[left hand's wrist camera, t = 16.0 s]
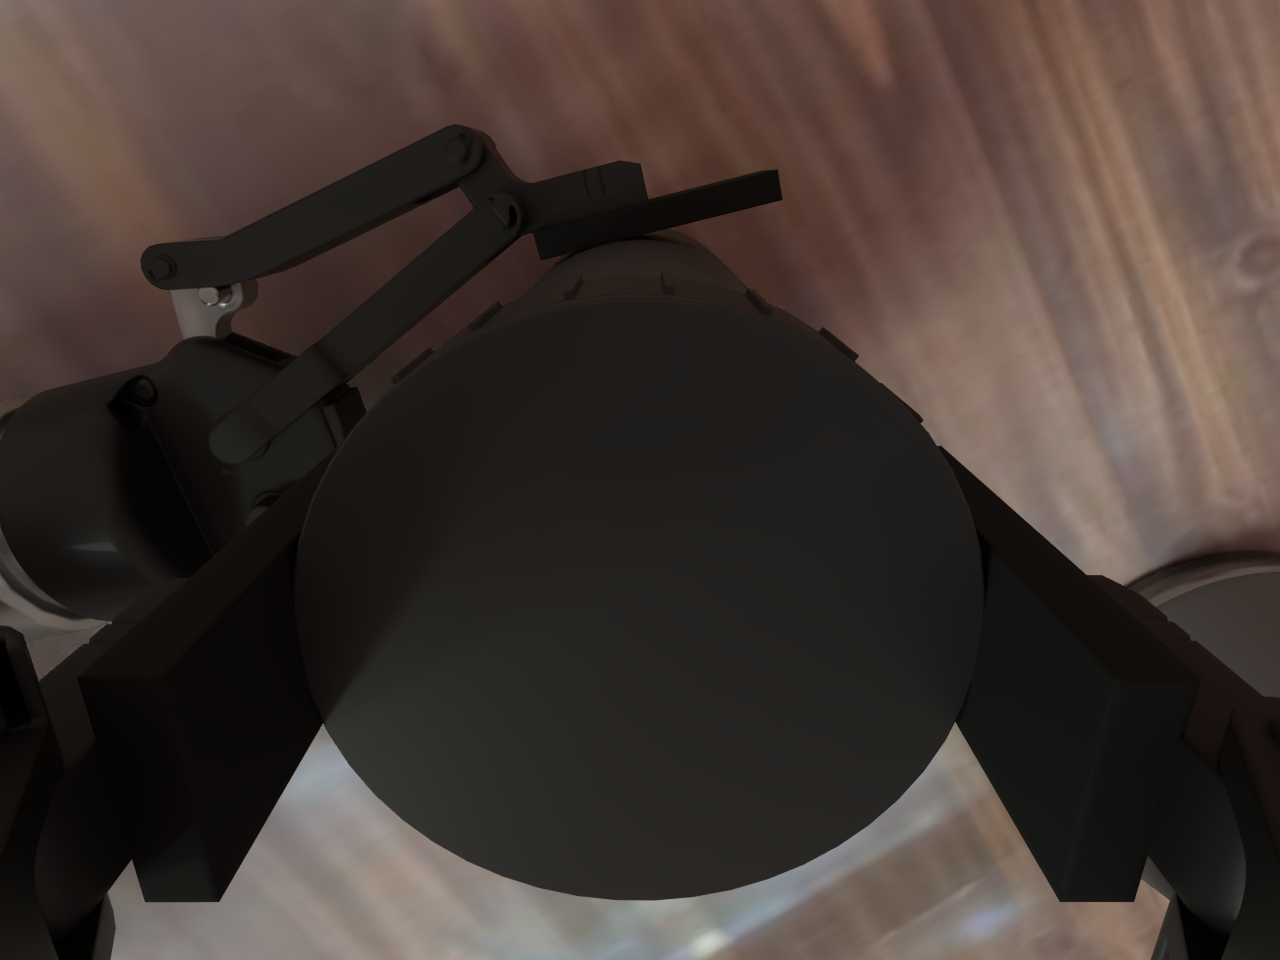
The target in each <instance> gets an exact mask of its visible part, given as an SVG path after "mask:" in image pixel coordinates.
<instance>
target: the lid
mask: <svg viewBox="0 0 1280 960" xmlns="http://www.w3.org/2000/svg"><path fill="white" fill-rule="evenodd" d="M858 357H859V355H858V354H856V353H855V352H854V351H853V350H851V349H850V348H849V347H848V346H847V345H845V344H844V343H843V342H842V341H840V340H839V339H838V338H837V337H835V336H834V335H833V334H832V333H830V332H829V331H828V330H826V329H825V328H824V327H823V328H822V329H821V330H820V331H819V332H818V331H817V330H815V329H814V328H812V327H810V326H809V325H807V324H806V323H804V322H802V321H801V320H799V319H798V318H796V317H794V316H793V315H791V314H790V313H788V312H786V311H784V310H782V309H780V308H777V307H775V306H773V305H771V304H768V303H767V302H766V301H765V300H764V299H763V298H762V297H761V296H760V295H759V294H758V293H757V292H755V291H754V290H752V289H749V288H747V291H746V293H741V292H738V291H735V290H731V289H728V288H724V287H721V286H717V285H714V284H711V283H707V282H700V281H693V280H687V279H680V278H673V277H671V274H670V271H666V270H662V272H661V276H615V277H607V278H598V279H590V280H583V279H582V275H576V276H574V277H573V278H572V280H571V281H570V283H569V284H565V285H561V286H557V287H554V288H550V289H546V290H542V291H538V292H536V293H533V294H531V295H529V296H526V297H524V298H521V299H519V300H516V301H514V302H512V303H509V304H507V305H504V306H501V304H500V302H499V301H498V302H496V303H494V304H492V305H491V306H490V307H489V308H488V309H486V310H485V311H484V312H483V313H482V314H481V315H479V316H478V317H477V318H476V319H475V320H473V321H472V322H471V323H470V324H469V325H468V326H467V327H465V328H464V329H462V330H461V331H460V332H459V333H457V334H456V335H455V336H454V337H452V338H451V339H450V340H449V341H447V342H446V343H445V344H444V345H442V346H441V347H440V348H438V349H437V350H436V351H435V352H434V351H433V350H432V349H431V348H428V349H427V350H426V351H425V352H423V353H422V354H421V355H420V356H418V357H417V358H416V359H415V360H413V361H412V362H411V363H410V364H408V365H407V366H406V367H405V368H403V369H402V370H401V371H400V372H398V373H397V374H396V375H395V376H394V377H393V378H391V381H392V382H393V383H394V384H395V385H394V386H393V387H392V388H391V389H389V390H388V391H387V392H386V393H385V394H384V395H383V396H382V397H381V398H380V399H379V400H378V402H377V403H376V404H375V405H374V406H373V407H372V408H371V409H370V410H369V411H368V412H367V413H366V414H365V415H364V417H363V418H362V419H361V420H360V421H359V422H358V423H357V424H356V425H355V426H354V428H353V429H352V431H351V432H350V434H349V435H348V436H347V437H346V438H345V439H344V440H343V441H341V442H340V443H339V444H338V446H337V448H336V451H337V452H336V454H335V455H334V457H333V458H332V460H331V461H330V463H329V465H328V467H327V469H326V471H325V473H324V475H323V477H322V479H321V481H320V483H319V485H318V487H317V490H316V492H315V494H314V496H313V498H312V500H311V502H310V506H309V509H308V512H307V515H306V519H305V522H304V525H303V529H302V532H301V535H300V538H299V542H298V549H297V556H296V563H295V570H294V577H293V604H294V611H295V618H296V623H297V629H298V634H299V640H300V645H301V651H302V656H303V662H304V667H305V673H306V678H307V683H308V688H309V692H310V695H311V698H312V700H313V702H314V705H315V707H316V709H317V711H318V713H319V715H320V717H321V719H322V721H323V723H324V725H325V727H326V729H327V731H328V733H329V735H330V736H331V738H332V739H333V741H334V743H335V744H336V746H337V747H338V749H339V750H340V752H341V753H342V755H343V756H344V758H345V759H346V761H347V762H348V764H349V765H350V766H351V768H352V769H353V770H354V771H355V772H356V773H357V774H358V776H359V777H360V778H361V779H362V780H363V781H364V783H365V784H366V785H367V786H368V787H369V788H370V790H371V791H372V792H373V793H374V794H375V795H376V796H377V797H378V798H379V799H380V800H381V801H383V802H384V803H385V804H386V805H387V806H388V807H389V808H390V809H391V810H392V811H393V812H395V813H396V814H397V815H398V816H399V817H400V818H401V819H402V820H404V821H405V822H406V823H408V824H409V825H411V826H412V827H413V828H415V829H416V830H417V831H419V832H420V833H422V834H423V835H424V836H426V837H427V838H429V839H430V840H431V841H433V842H434V843H436V844H438V845H440V846H441V847H443V848H445V849H447V850H448V851H450V852H452V853H454V854H455V855H457V856H459V857H461V858H463V859H464V860H466V861H468V862H470V863H473V864H475V865H477V866H480V867H482V868H484V869H487V870H489V871H491V872H494V873H496V874H498V875H501V876H503V877H506V878H509V879H512V880H516V881H519V882H522V883H525V884H528V885H531V886H535V887H538V888H542V889H547V890H551V891H556V892H561V893H566V894H571V895H575V896H583V897H592V898H602V899H611V900H665V899H676V898H687V897H696V896H701V895H706V894H712V893H717V892H722V891H728V890H732V889H736V888H739V887H743V886H746V885H749V884H753V883H756V882H760V881H763V880H766V879H769V878H772V877H774V876H777V875H779V874H782V873H784V872H787V871H789V870H791V869H794V868H796V867H799V866H801V865H804V864H806V863H807V862H809V861H811V860H813V859H815V858H817V857H819V856H821V855H822V854H824V853H826V852H828V851H830V850H832V849H834V848H835V847H837V846H839V845H840V844H842V843H843V842H845V841H846V840H848V839H849V838H851V837H852V836H853V835H855V834H856V833H858V832H859V831H861V830H862V829H864V828H865V827H867V826H868V825H869V824H871V823H872V822H873V821H874V820H875V819H876V818H877V817H879V816H880V815H881V814H882V813H883V812H884V811H886V810H887V809H888V808H889V807H890V806H891V805H892V804H894V803H895V802H896V801H897V800H898V799H899V798H900V797H901V796H902V795H903V794H904V793H905V791H906V790H907V789H908V788H909V787H910V786H911V785H912V784H913V783H914V781H915V780H916V779H917V778H918V777H919V776H920V775H921V774H922V773H923V772H924V770H925V769H926V767H927V766H928V764H929V763H930V762H931V760H932V759H933V757H934V756H935V754H936V753H937V752H938V750H939V749H940V747H941V746H942V744H943V743H944V742H945V740H946V738H947V736H948V734H949V732H950V731H951V729H952V727H953V725H954V723H955V721H956V719H957V717H958V715H959V713H960V711H961V709H962V707H963V705H964V702H965V699H966V697H967V694H968V691H969V688H970V685H971V682H972V677H973V672H974V667H975V662H976V656H977V651H978V645H979V640H980V634H981V628H982V622H983V616H984V609H985V582H984V573H983V564H982V554H981V548H980V544H979V541H978V537H977V533H976V530H975V526H974V522H973V518H972V515H971V511H970V508H969V506H968V504H967V502H966V499H965V497H964V495H963V493H962V490H961V488H960V486H959V484H958V481H957V479H956V477H955V475H954V472H953V470H952V469H951V467H950V466H949V464H948V462H947V461H946V459H945V458H944V456H943V455H942V453H941V452H940V450H939V448H938V447H937V445H936V444H935V442H934V441H933V439H932V438H931V436H930V434H929V433H928V432H927V431H926V430H925V428H924V427H923V426H922V425H921V424H920V423H921V422H923V419H922V418H921V416H920V415H919V414H918V413H917V412H915V411H914V410H913V409H912V408H911V407H909V406H908V405H907V404H906V403H905V402H904V401H902V400H901V399H900V398H899V397H898V396H896V395H895V394H894V393H893V392H892V391H890V390H889V389H888V388H887V387H886V386H885V385H883V384H882V383H879V382H878V381H877V380H876V379H875V378H873V377H872V376H871V375H870V374H869V373H868V372H866V371H865V370H864V369H863V368H862V367H860V366H859V365H858V364H857V363H856V362H855V360H856V359H857V358H858Z"/></svg>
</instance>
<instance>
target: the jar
mask: <svg viewBox="0 0 1280 960" xmlns="http://www.w3.org/2000/svg"><path fill="white" fill-rule="evenodd" d="M662 270H666V271H670V274H671V277H673V278H680V279H687V280H693V281H700V282H707V283H711V284H714V285H717V286H721V287H724V288H728V289H731V290H735V291H738V292H741V293H746V291H747V287H746V286H745V285H744V284H743V283H742V282H741V281H740V280H739V279H738V278H737V277H736V276H735V275H734V274H733V273H732V272H731V271H730V270H729V269H728V268H727V267H726V266H725V265H724V264H723V263H722V262H721V261H720V260H719V258H718V257H716V256H715V255H714V254H713V253H712V252H711V251H710V250H708V249H707V248H706V247H705V246H703V245H702V244H700V243H699V242H697V241H696V240H694V239H692V238H690V237H688V236H686V235H684V234H682V233H680V232H677V231H674V230H671V229H664V230H660V231H656V232H652V233H648V234H644V235H640V236H636V237H632V238H628V239H624V240H620V241H616V242H612V243H608V244H604V245H600V246H596V247H592V248H588V249H584V250H580V251H576V252H572V253H568V254H565V255H564V256H563V257H562V258H561V259H560V260H559V261H558V262H557V263H556V264H555V265H554V266H553V267H552V268H551V269H550V270H549V271H548V272H547V273H546V274H545V275H544V276H543V277H542V278H541V279H540V280H539V281H538V282H537V283H536V284H535V285H534V286H533V287H532V288H531V289H530V290H529V291H528V292H527V293H526V294H525V295H524V296H523V297H522V298H524V297H526V296H529V295H531V294H533V293H536V292H538V291H542V290H546V289H550V288H554V287H557V286H561V285H565V284H569V283H570V281H571V280H572V278H573V277H574V276H576V275H582V279H583V280H590V279H598V278H607V277H615V276H661V272H662Z"/></svg>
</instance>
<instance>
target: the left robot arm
mask: <svg viewBox="0 0 1280 960" xmlns="http://www.w3.org/2000/svg"><path fill="white" fill-rule="evenodd" d="M937 447H938V448H939V450H940V452H941V453H942V455H943V456H944V458H945V459H946V461H947V462H948V464H949V466H950V467H951V469H952V470H953V472H954V475H955V477H956V479H957V481H958V484H959V486H960V488H961V490H962V493H963V495H964V497H965V499H966V502H967V504H968V506H969V508H970V511H971V515H972V518H973V522H974V526H975V530H976V533H977V537H978V541H979V544H980V548H981V554H982V564H983V573H984V582H985V609H984V616H983V622H982V628H981V634H980V640H979V645H978V651H977V656H976V662H975V667H974V672H973V677H972V682H971V685H970V688H969V691H968V694H967V697H966V699H965V702H964V705H963V707H962V709H961V711H960V713H959V715H958V717H957V719H956V721H955V722H956V724H957V725H958V727H959V729H960V731H961V732H962V734H963V736H964V737H965V739H966V741H967V743H968V744H969V746H970V748H971V749H972V751H973V753H974V755H975V756H976V758H977V760H978V762H979V763H980V765H981V767H982V768H983V770H984V772H985V774H986V775H987V777H988V779H989V780H990V782H991V784H992V786H993V787H994V789H995V791H996V793H997V794H998V796H999V798H1000V799H1001V801H1002V803H1003V805H1004V806H1005V808H1006V810H1007V811H1008V813H1009V815H1010V817H1011V818H1012V820H1013V822H1014V824H1015V825H1016V827H1017V829H1018V830H1019V832H1020V834H1021V836H1022V837H1023V839H1024V841H1025V842H1026V844H1027V846H1028V848H1029V849H1030V851H1031V853H1032V855H1033V856H1034V858H1035V860H1036V861H1037V863H1038V865H1039V867H1040V868H1041V870H1042V872H1043V873H1044V875H1045V877H1046V879H1047V880H1048V882H1049V884H1050V886H1051V887H1052V889H1053V891H1054V892H1055V894H1056V896H1057V898H1058V899H1059V901H1060V902H1134V900H1135V897H1136V893H1137V890H1138V887H1139V883H1140V880H1141V879H1142V880H1144V881H1145V882H1146V883H1148V884H1149V885H1150V886H1152V887H1153V888H1154V889H1156V890H1157V891H1158V892H1159V893H1161V894H1162V895H1163V896H1165V897H1166V898H1167V899H1169V900H1170V902H1169V906H1168V909H1167V912H1166V915H1165V918H1164V921H1163V924H1162V927H1161V930H1160V933H1159V936H1158V939H1157V942H1156V945H1155V948H1154V952H1153V955H1152V958H1151V960H1280V553H1273V552H1253V551H1248V552H1233V553H1225V554H1218V555H1211V556H1207V557H1203V558H1199V559H1194V560H1191V561H1187V562H1184V563H1181V564H1178V565H1175V566H1172V567H1170V568H1167V569H1165V570H1162V571H1160V572H1157V573H1155V574H1153V575H1151V576H1149V577H1147V578H1145V579H1143V580H1141V581H1139V582H1137V583H1135V584H1134V585H1132V586H1130V587H1128V588H1127V587H1125V586H1123V585H1121V584H1119V583H1117V582H1115V581H1113V580H1111V579H1109V578H1107V577H1105V576H1102V575H1086V574H1085V573H1084V572H1083V571H1081V570H1080V569H1079V568H1078V567H1077V566H1076V565H1075V564H1074V563H1072V562H1071V561H1070V560H1069V559H1068V558H1067V557H1066V556H1065V555H1063V554H1062V553H1061V552H1060V551H1059V550H1058V549H1057V548H1056V547H1054V546H1053V545H1052V544H1051V543H1050V542H1049V541H1048V540H1047V539H1045V538H1044V537H1043V536H1042V535H1041V534H1040V533H1039V532H1037V531H1036V530H1035V529H1034V528H1033V527H1032V526H1031V525H1030V524H1028V523H1027V522H1026V521H1025V520H1024V519H1023V518H1022V517H1021V516H1019V515H1018V514H1017V513H1016V512H1015V511H1014V510H1013V509H1012V508H1010V507H1009V506H1008V505H1007V504H1006V503H1005V502H1004V501H1003V500H1001V499H1000V498H999V497H998V496H997V495H996V494H995V493H994V492H992V491H991V490H990V489H989V488H988V487H987V486H986V485H985V484H983V483H982V482H981V481H980V480H979V479H978V478H977V477H975V476H974V475H973V474H972V473H971V472H970V471H969V470H968V469H966V468H965V467H964V466H963V465H962V464H961V463H960V462H959V461H957V460H956V459H955V458H954V457H953V456H952V455H951V454H950V453H948V452H947V451H946V450H945V449H944V448H943V447H942V446H937ZM336 448H337V447H336ZM336 448H335V449H334V450H333V451H332V452H331V453H330V454H328V455H327V456H326V457H325V458H324V459H323V460H322V461H321V462H319V463H318V464H317V465H316V466H315V467H314V468H313V469H312V470H310V471H309V472H308V473H307V474H306V475H305V476H304V477H302V478H301V479H300V480H299V481H298V482H297V483H296V484H295V485H293V486H292V487H291V488H290V489H289V490H288V491H287V492H286V493H284V494H283V495H282V496H281V497H280V498H279V499H278V500H277V501H275V502H274V503H273V504H272V505H271V506H270V507H269V508H268V509H266V510H265V511H264V512H263V513H262V514H261V515H260V516H259V517H257V518H256V519H255V520H254V521H253V522H252V523H251V524H249V525H248V526H247V527H246V528H245V529H244V530H243V531H242V532H240V533H239V534H238V535H237V536H236V537H235V538H234V539H233V540H231V541H230V542H229V543H228V544H227V545H226V546H225V547H224V548H222V549H221V550H220V551H219V552H218V553H217V554H216V555H215V556H213V557H212V558H211V559H210V560H209V561H208V562H207V563H205V564H204V565H203V566H202V567H201V568H200V569H199V570H198V571H196V572H195V573H194V574H193V575H192V576H191V577H190V578H177V579H175V580H173V581H171V582H169V583H167V584H165V585H163V586H161V587H159V588H157V589H155V590H153V591H151V592H149V593H147V594H145V595H143V596H141V597H139V598H138V599H137V600H135V601H134V602H133V603H132V604H131V605H129V606H128V607H127V608H126V609H125V610H123V611H122V612H121V613H120V614H119V615H117V616H116V617H115V618H114V619H113V620H112V624H107V625H106V626H104V627H103V628H102V629H101V630H100V631H98V632H97V633H96V634H95V635H94V636H92V637H91V638H90V642H89V644H83V645H82V646H80V647H79V648H78V649H77V650H76V651H74V652H73V653H72V654H71V655H70V656H68V657H67V658H66V659H65V660H64V661H63V662H61V663H60V664H59V665H58V666H57V667H55V668H54V669H53V670H52V671H51V672H49V673H48V674H47V675H46V676H45V677H43V678H42V679H41V680H40V681H39V682H38V678H37V675H36V672H35V669H34V666H33V663H32V660H31V657H30V654H29V651H28V648H27V645H26V642H25V639H24V635H23V634H22V633H21V632H19V631H17V630H15V629H14V628H12V627H10V626H2V625H0V960H110V959H111V953H112V947H113V941H114V935H115V929H116V927H115V920H114V913H113V909H112V906H111V902H110V899H109V896H108V893H107V892H108V890H109V889H110V888H111V886H112V885H113V884H114V882H115V881H116V880H117V878H118V877H119V876H120V874H121V873H122V872H123V870H124V869H125V868H126V866H127V865H128V864H129V862H130V861H131V859H132V861H133V864H134V867H135V870H136V874H137V877H138V880H139V884H140V887H141V890H142V893H143V897H144V900H145V902H219V901H220V900H221V898H222V896H223V894H224V893H225V891H226V889H227V887H228V886H229V884H230V882H231V881H232V879H233V877H234V875H235V874H236V872H237V870H238V869H239V867H240V865H241V863H242V862H243V860H244V858H245V856H246V855H247V853H248V851H249V850H250V848H251V846H252V844H253V843H254V841H255V839H256V838H257V836H258V834H259V832H260V831H261V829H262V827H263V825H264V824H265V822H266V820H267V819H268V817H269V815H270V813H271V812H272V810H273V808H274V807H275V805H276V803H277V801H278V800H279V798H280V796H281V794H282V793H283V791H284V789H285V788H286V786H287V784H288V782H289V781H290V779H291V777H292V776H293V774H294V772H295V770H296V769H297V767H298V765H299V764H300V762H301V760H302V758H303V757H304V755H305V753H306V751H307V750H308V748H309V746H310V745H311V743H312V741H313V739H314V738H315V736H316V734H317V733H318V731H319V729H320V727H321V726H322V724H323V721H322V719H321V717H320V715H319V713H318V711H317V709H316V707H315V705H314V702H313V700H312V698H311V695H310V692H309V688H308V683H307V678H306V673H305V667H304V662H303V656H302V651H301V645H300V640H299V634H298V629H297V623H296V618H295V611H294V604H293V577H294V570H295V563H296V556H297V549H298V542H299V538H300V535H301V532H302V529H303V525H304V522H305V519H306V515H307V512H308V509H309V506H310V502H311V500H312V498H313V496H314V494H315V492H316V490H317V487H318V485H319V483H320V481H321V479H322V477H323V475H324V473H325V471H326V469H327V467H328V465H329V463H330V461H331V460H332V458H333V457H334V455H335V454H336V452H337V451H336Z"/></svg>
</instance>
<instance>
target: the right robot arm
mask: <svg viewBox="0 0 1280 960" xmlns="http://www.w3.org/2000/svg"><path fill="white" fill-rule="evenodd" d="M458 187H460V188H461V189H462V191H463V192H464V194H465V195H466V197H467V198H468V200H469V201H470V202H471V204H472V205H473V207H474V209H473V210H471V211H470V212H469V213H468V214H467V215H466V216H465V217H463V218H462V219H461V220H460V221H459V222H458V223H456V224H455V225H454V226H453V227H452V228H451V229H449V230H448V231H447V232H446V233H445V234H444V235H442V236H441V237H440V238H439V239H438V240H437V241H435V242H434V243H433V244H432V245H431V246H430V247H428V248H427V249H426V250H425V251H424V252H423V253H421V254H420V255H419V256H418V257H417V258H416V259H414V260H413V261H412V262H411V263H410V264H409V265H407V266H406V267H405V268H404V269H403V270H402V271H400V272H399V273H398V274H397V275H396V276H395V277H393V278H392V279H391V280H390V281H389V282H388V283H386V284H385V285H384V286H383V287H382V288H381V289H379V290H378V291H377V292H376V293H375V294H374V295H372V296H371V297H370V298H369V299H368V300H367V301H365V302H364V303H363V304H362V305H361V306H360V307H358V308H357V309H356V310H355V311H354V312H353V313H351V314H350V315H349V316H348V317H347V318H346V319H344V320H343V321H342V322H341V323H340V324H339V325H337V326H336V327H335V328H334V329H333V330H332V331H330V332H329V333H328V334H327V335H326V336H325V337H323V338H322V339H321V340H320V341H318V342H317V343H315V344H314V345H313V346H311V347H310V348H308V349H307V350H306V351H304V352H303V353H302V354H301V355H300V356H298V357H297V356H294V355H291V354H289V353H286V352H284V351H281V350H278V349H276V348H273V347H271V346H268V345H265V344H263V343H260V342H258V341H255V340H252V339H250V338H247V337H245V336H242V335H239V334H237V333H234V332H232V331H231V321H232V318H233V316H234V314H235V313H236V312H237V311H239V310H241V309H243V308H246V307H248V306H250V305H252V304H253V303H254V302H255V300H256V298H257V294H258V282H257V280H256V278H260V277H264V276H267V275H271V274H275V273H279V272H282V271H285V270H287V269H290V268H292V267H295V266H297V265H299V264H301V263H303V262H305V261H308V260H310V259H312V258H314V257H316V256H318V255H320V254H322V253H324V252H326V251H328V250H330V249H332V248H334V247H336V246H338V245H341V244H343V243H345V242H347V241H349V240H351V239H353V238H355V237H357V236H359V235H361V234H363V233H365V232H367V231H369V230H372V229H374V228H376V227H378V226H380V225H382V224H384V223H386V222H388V221H390V220H392V219H394V218H396V217H398V216H400V215H402V214H405V213H407V212H409V211H411V210H413V209H415V208H417V207H419V206H421V205H423V204H425V203H427V202H429V201H431V200H433V199H435V198H438V197H440V196H442V195H444V194H446V193H448V192H450V191H452V190H454V189H456V188H458ZM780 200H782V193H781V187H780V181H779V175H778V170H765V171H759V172H755V173H751V174H747V175H743V176H739V177H735V178H731V179H727V180H723V181H720V182H716V183H712V184H708V185H704V186H700V187H696V188H692V189H688V190H684V191H680V192H676V193H672V194H668V195H664V196H660V197H657V198H653V199H649V200H648V196H647V192H646V187H645V183H644V178H643V174H642V169H641V165H640V164H638V163H632V162H625V161H617V162H613V163H609V164H605V165H601V166H598V167H594V168H590V169H586V170H582V171H578V172H574V173H570V174H567V175H563V176H559V177H555V178H551V179H547V180H543V181H540V182H536V183H528V182H525V181H523V180H521V179H519V178H518V177H517V176H515V175H514V174H513V172H512V171H511V170H510V169H509V167H508V166H507V164H506V163H505V161H504V160H503V158H502V157H501V155H500V154H499V152H498V151H497V149H496V145H495V143H494V142H493V140H492V139H491V137H490V136H488V135H487V134H485V133H484V132H482V131H479V130H476V129H472V128H469V127H466V126H461V125H456V124H455V125H451V126H447V127H445V128H443V129H441V130H439V131H437V132H435V133H433V134H431V135H429V136H427V137H425V138H423V139H421V140H419V141H417V142H415V143H413V144H411V145H409V146H407V147H405V148H403V149H401V150H399V151H397V152H395V153H393V154H391V155H389V156H387V157H385V158H383V159H381V160H379V161H377V162H375V163H373V164H371V165H369V166H367V167H365V168H363V169H361V170H359V171H357V172H355V173H353V174H351V175H349V176H347V177H345V178H343V179H341V180H339V181H336V182H334V183H332V184H330V185H328V186H326V187H324V188H322V189H320V190H318V191H316V192H314V193H312V194H310V195H308V196H306V197H304V198H302V199H300V200H298V201H296V202H294V203H292V204H290V205H288V206H286V207H284V208H282V209H280V210H278V211H276V212H274V213H272V214H270V215H268V216H266V217H264V218H262V219H260V220H258V221H256V222H254V223H252V224H250V225H248V226H246V227H244V228H242V229H240V230H238V231H236V232H234V233H232V234H230V235H228V236H225V237H210V238H200V239H192V240H185V241H177V242H170V243H162V244H156V245H153V246H149V247H148V248H147V249H146V250H145V251H144V252H143V255H142V257H141V269H142V271H143V273H144V275H145V277H146V278H147V279H148V281H149V282H150V283H151V284H152V285H154V286H156V287H158V288H160V289H165V290H170V294H171V298H172V301H173V305H174V309H175V312H176V316H177V320H178V323H179V327H180V331H181V334H182V338H183V341H181V342H179V343H178V344H177V345H175V346H174V347H173V348H172V349H171V351H170V352H169V353H168V354H167V356H166V357H165V358H163V359H162V360H161V361H160V362H158V363H154V364H150V365H146V366H142V367H138V368H134V369H130V370H126V371H122V372H118V373H114V374H110V375H106V376H102V377H98V378H94V379H90V380H86V381H82V382H78V383H74V384H70V385H66V386H62V387H58V388H54V389H51V390H47V391H44V392H42V393H40V394H38V395H35V396H34V397H26V396H22V397H18V398H14V399H10V400H6V401H2V402H0V625H2V626H10V627H12V628H14V629H15V630H17V631H19V632H21V633H22V634H23V635H24V639H25V642H27V641H32V640H37V639H42V638H47V637H52V636H57V635H62V634H67V633H72V632H77V631H82V630H87V629H90V628H94V627H97V626H100V625H103V624H107V623H108V622H110V621H112V620H113V619H114V618H115V617H116V616H117V615H119V614H120V613H121V612H122V611H123V610H125V609H126V608H127V607H128V606H129V605H131V604H132V603H133V602H134V601H135V600H137V599H138V598H139V597H141V596H143V595H145V594H147V593H149V592H151V591H153V590H155V589H157V588H159V587H161V586H163V585H165V584H167V583H169V582H171V581H173V580H175V579H177V578H190V577H191V576H192V575H193V574H194V573H195V572H196V571H198V570H199V569H200V568H201V567H202V566H203V565H204V564H205V563H207V562H208V561H209V560H210V559H211V558H212V557H213V556H215V555H216V554H217V553H218V552H219V551H220V550H221V549H222V548H224V547H225V546H226V545H227V544H228V543H229V542H230V541H231V540H233V539H234V538H235V537H236V536H237V535H238V534H239V533H240V532H242V531H243V530H244V529H245V528H246V527H247V526H248V525H249V524H251V523H252V522H253V521H254V520H255V519H256V518H257V517H259V516H260V515H261V514H262V513H263V512H264V511H265V510H266V509H268V508H269V507H270V506H271V505H272V504H273V503H274V502H275V501H277V500H278V499H279V498H280V497H281V496H282V495H283V494H284V493H286V492H287V491H288V490H289V489H290V488H291V487H292V486H293V485H295V484H296V483H297V482H298V481H299V480H300V479H301V478H302V477H304V476H305V475H306V474H307V473H308V472H309V471H310V470H312V469H313V468H314V467H315V466H316V465H317V464H318V463H319V462H321V461H322V460H323V459H324V458H325V457H326V456H327V455H328V454H330V453H331V452H332V451H333V450H334V449H335V448H336V447H337V446H338V444H339V443H340V442H341V441H343V440H344V439H345V438H346V437H347V436H348V435H349V434H350V432H351V431H352V429H353V428H354V426H355V425H356V424H357V423H358V422H359V421H360V420H361V419H362V418H363V417H364V415H365V414H366V409H365V407H364V404H363V401H362V399H361V396H360V393H359V391H358V388H357V387H353V388H350V387H349V386H348V384H347V382H348V381H349V380H351V379H352V378H353V377H354V376H355V375H357V374H358V373H359V372H360V371H361V370H363V369H364V368H365V367H366V366H367V365H369V364H370V363H371V362H372V361H373V360H374V359H376V358H377V357H378V356H379V355H380V354H381V353H382V352H383V351H384V350H386V349H387V348H388V347H389V346H390V345H392V344H393V343H394V342H395V341H396V340H398V339H399V338H400V337H401V336H402V335H404V334H405V333H406V332H407V331H408V330H410V329H411V328H412V327H413V326H414V325H416V324H417V323H418V322H419V321H420V320H422V319H423V318H424V317H425V316H426V315H428V314H429V313H430V312H431V311H432V310H434V309H435V308H436V307H437V306H438V305H440V304H441V303H442V302H443V301H444V300H446V299H447V298H448V297H449V296H450V295H452V294H453V293H454V292H455V291H456V290H458V289H459V288H460V287H461V286H462V285H464V284H465V283H466V282H467V281H468V280H470V279H471V278H472V277H473V276H475V275H476V274H477V273H478V272H479V271H481V270H482V269H483V268H484V267H485V266H487V265H488V264H489V263H490V262H491V261H493V260H494V259H495V258H496V257H497V256H499V255H500V254H501V253H502V252H503V251H505V250H506V249H507V248H508V247H509V246H511V245H512V244H513V243H514V242H515V241H517V240H518V239H519V238H520V237H521V236H523V235H525V234H529V233H533V234H534V238H535V241H536V245H537V248H538V252H539V256H540V259H541V260H544V259H548V258H552V257H556V256H560V255H564V254H568V253H572V252H576V251H580V250H584V249H588V248H592V247H596V246H600V245H604V244H608V243H612V242H616V241H620V240H624V239H628V238H632V237H636V236H640V235H644V234H648V233H652V232H656V231H660V230H664V229H668V228H672V227H676V226H680V225H684V224H688V223H692V222H696V221H700V220H704V219H708V218H712V217H716V216H720V215H724V214H728V213H732V212H736V211H740V210H744V209H748V208H752V207H756V206H760V205H764V204H768V203H772V202H776V201H780Z"/></svg>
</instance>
